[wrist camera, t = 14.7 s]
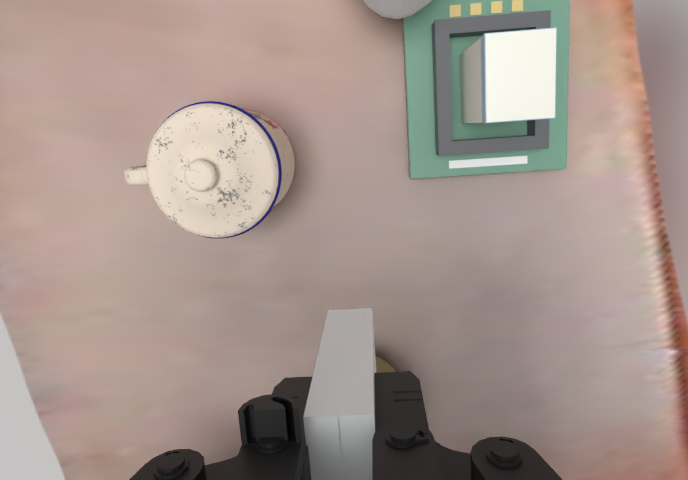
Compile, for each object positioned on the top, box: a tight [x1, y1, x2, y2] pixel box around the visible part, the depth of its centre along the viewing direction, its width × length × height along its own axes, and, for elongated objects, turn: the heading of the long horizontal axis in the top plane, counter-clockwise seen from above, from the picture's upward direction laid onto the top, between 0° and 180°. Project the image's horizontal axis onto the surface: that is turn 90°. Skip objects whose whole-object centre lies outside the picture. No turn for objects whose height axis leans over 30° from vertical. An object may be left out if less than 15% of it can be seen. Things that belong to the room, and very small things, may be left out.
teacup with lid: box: [124, 101, 295, 238], centre depth 37 cm, size 12×9×12 cm
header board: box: [403, 0, 570, 179], centre depth 39 cm, size 13×12×4 cm
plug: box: [459, 27, 557, 123], centre depth 35 cm, size 5×4×9 cm
